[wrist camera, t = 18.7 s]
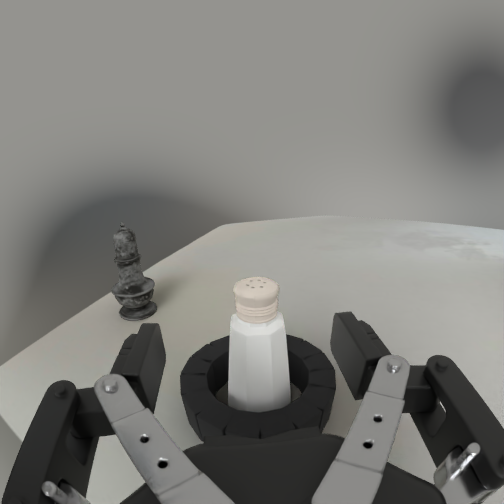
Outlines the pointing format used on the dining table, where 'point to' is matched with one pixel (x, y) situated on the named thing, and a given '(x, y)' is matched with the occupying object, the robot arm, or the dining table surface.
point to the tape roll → (257, 423)
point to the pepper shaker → (258, 349)
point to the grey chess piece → (131, 278)
